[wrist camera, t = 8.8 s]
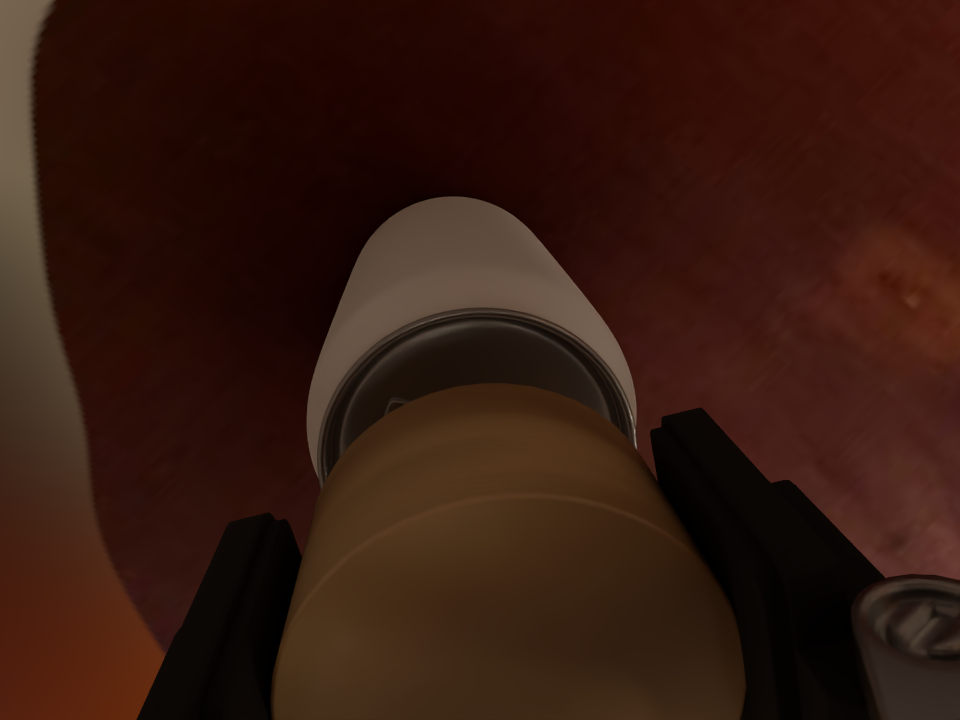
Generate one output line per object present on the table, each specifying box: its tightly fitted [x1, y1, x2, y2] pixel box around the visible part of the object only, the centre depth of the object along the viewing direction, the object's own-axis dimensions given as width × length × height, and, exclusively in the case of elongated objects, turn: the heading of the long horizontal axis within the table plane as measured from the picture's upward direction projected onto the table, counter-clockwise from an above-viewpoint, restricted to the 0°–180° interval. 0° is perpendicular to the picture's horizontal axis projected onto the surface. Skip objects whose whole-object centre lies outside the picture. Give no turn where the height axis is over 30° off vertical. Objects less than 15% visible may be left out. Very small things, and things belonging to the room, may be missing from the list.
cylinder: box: [270, 383, 747, 720], centre depth 10 cm, size 5×5×3 cm
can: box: [307, 196, 637, 490], centre depth 19 cm, size 6×6×12 cm
